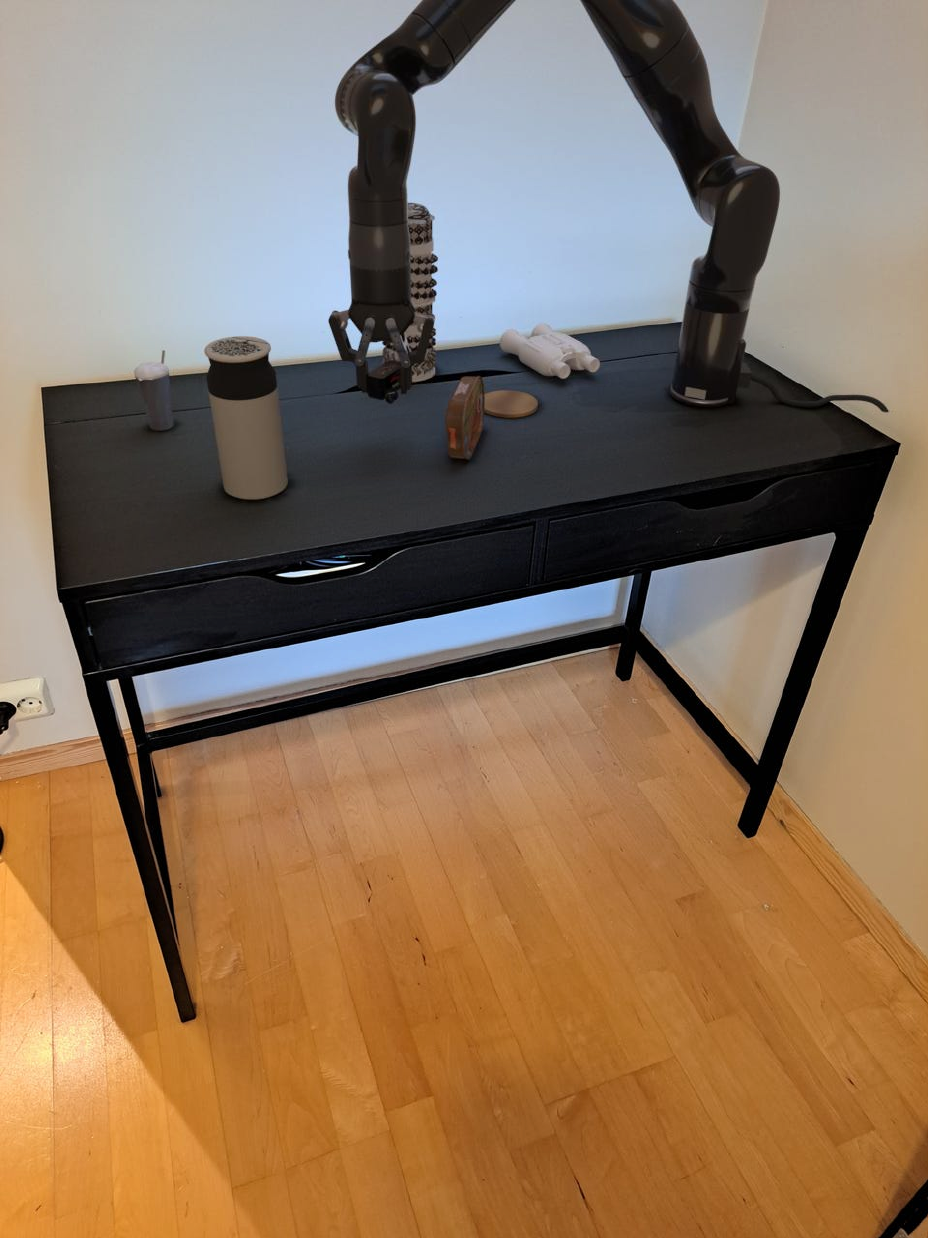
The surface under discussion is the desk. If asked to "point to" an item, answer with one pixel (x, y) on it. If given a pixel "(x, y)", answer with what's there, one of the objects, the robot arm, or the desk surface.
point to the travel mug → (246, 417)
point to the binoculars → (549, 351)
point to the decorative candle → (419, 289)
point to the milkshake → (155, 393)
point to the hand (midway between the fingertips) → (384, 390)
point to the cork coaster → (509, 404)
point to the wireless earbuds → (384, 381)
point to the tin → (465, 417)
